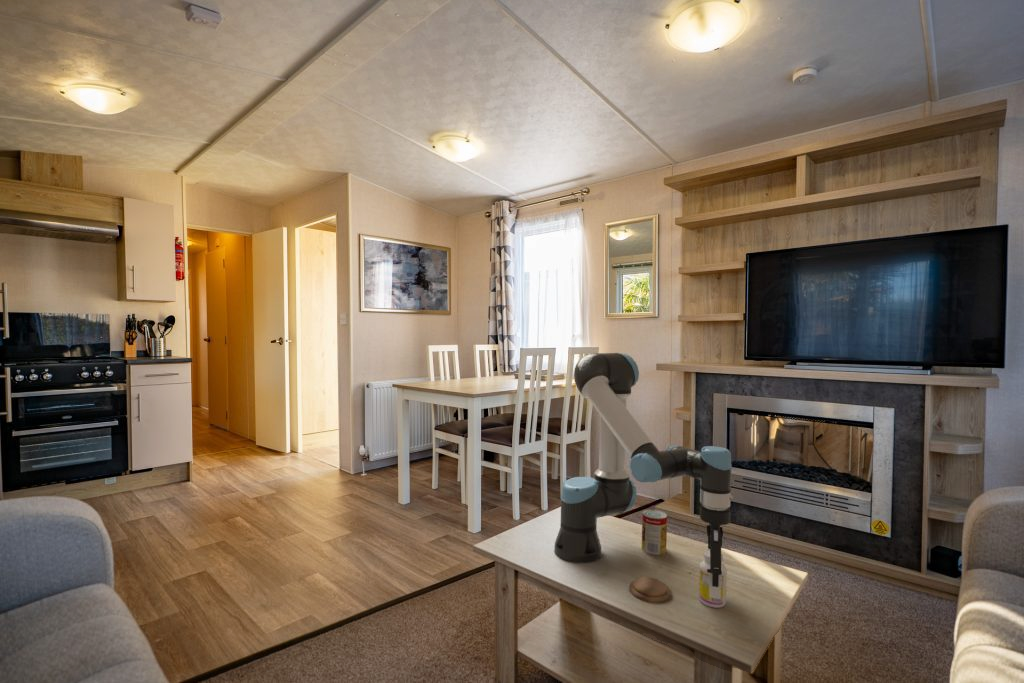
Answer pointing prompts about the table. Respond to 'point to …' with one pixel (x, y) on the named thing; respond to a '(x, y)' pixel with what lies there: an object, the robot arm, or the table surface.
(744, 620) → the table surface
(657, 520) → the canned food
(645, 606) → the table surface
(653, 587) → the plinth
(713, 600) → the supplement bottle
